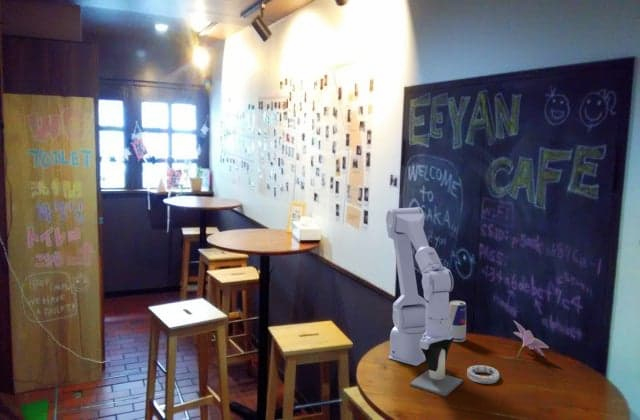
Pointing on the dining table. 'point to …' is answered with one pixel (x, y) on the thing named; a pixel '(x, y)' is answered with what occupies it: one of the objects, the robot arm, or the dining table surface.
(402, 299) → the robot arm
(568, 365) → the dining table surface
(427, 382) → the mat
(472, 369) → the ring
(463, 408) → the dining table surface
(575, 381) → the dining table surface
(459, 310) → the energy drink
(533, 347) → the lily
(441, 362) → the peg
